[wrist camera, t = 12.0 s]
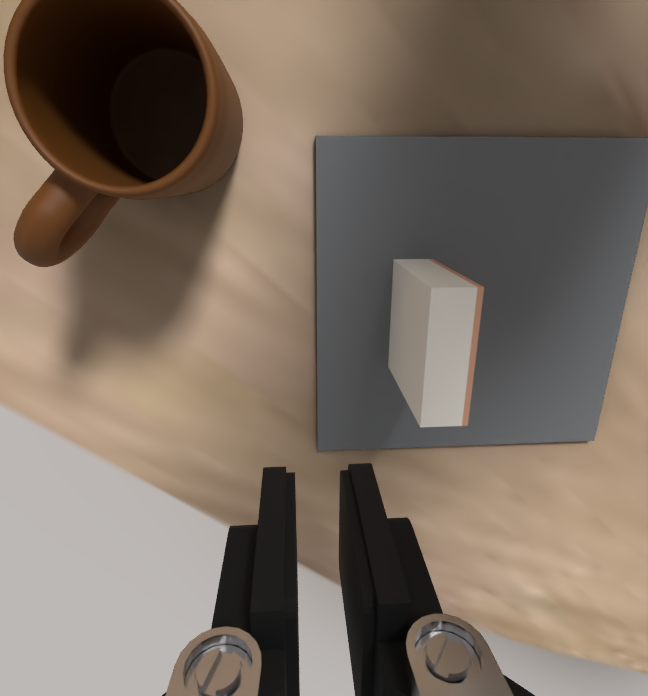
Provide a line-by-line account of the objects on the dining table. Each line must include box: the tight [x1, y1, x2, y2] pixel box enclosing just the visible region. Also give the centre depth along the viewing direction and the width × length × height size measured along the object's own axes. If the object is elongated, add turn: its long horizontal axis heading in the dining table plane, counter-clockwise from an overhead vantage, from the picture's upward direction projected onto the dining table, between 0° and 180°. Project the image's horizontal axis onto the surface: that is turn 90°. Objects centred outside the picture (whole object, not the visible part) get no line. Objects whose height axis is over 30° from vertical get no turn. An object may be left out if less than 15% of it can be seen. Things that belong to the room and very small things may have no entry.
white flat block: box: [388, 259, 484, 427], centre depth 26 cm, size 7×2×8 cm, turn 0°
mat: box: [316, 136, 648, 451], centre depth 30 cm, size 20×20×1 cm
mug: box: [4, 0, 243, 267], centre depth 21 cm, size 12×8×9 cm, turn 142°
